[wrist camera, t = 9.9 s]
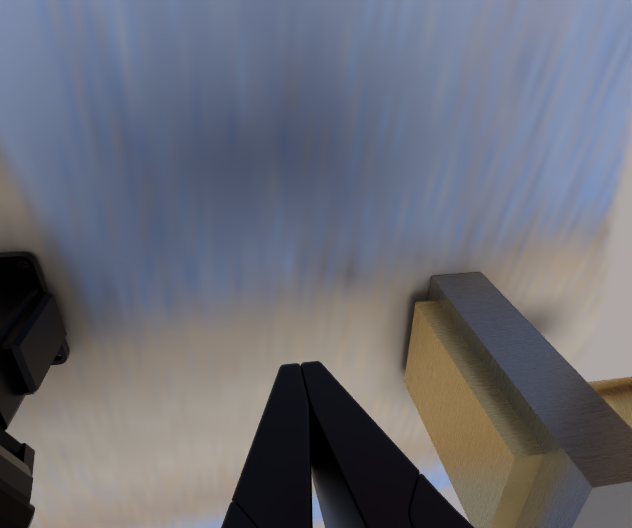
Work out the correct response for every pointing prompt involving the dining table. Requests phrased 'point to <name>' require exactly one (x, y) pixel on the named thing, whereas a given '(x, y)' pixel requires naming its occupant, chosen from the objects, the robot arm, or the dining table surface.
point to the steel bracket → (546, 410)
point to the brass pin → (479, 420)
